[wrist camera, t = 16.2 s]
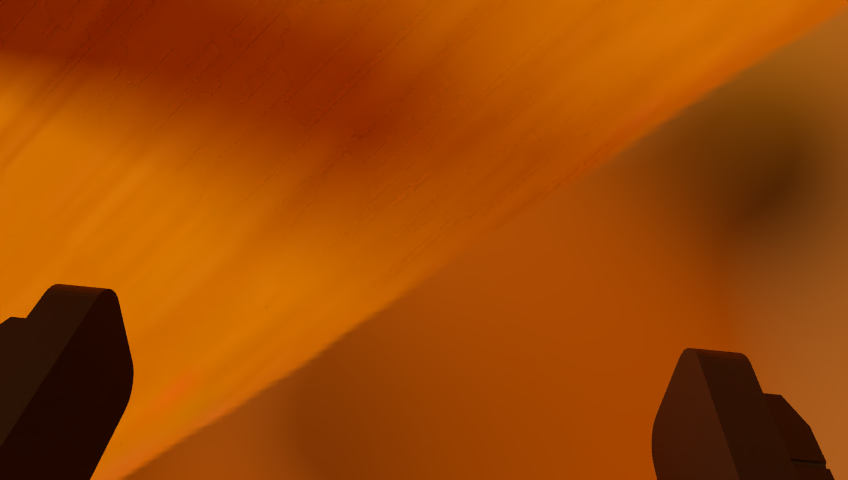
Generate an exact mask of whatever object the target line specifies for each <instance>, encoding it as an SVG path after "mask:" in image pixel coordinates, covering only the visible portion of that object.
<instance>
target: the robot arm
mask: <svg viewBox="0 0 848 480" xmlns="http://www.w3.org/2000/svg"><path fill="white" fill-rule="evenodd" d="M133 374H134V371H133V362H132V358H131V353H130V349H129V344H128V340H127V336H126V331H125V327H124V322H123V318H122V314H121V309H120V305H119V301H118V297H117V295H116V293H115V292H114V291H113V290H111V289H105V288H95V287H84V286H74V285H64V284H55V285H53V286H51V287H50V288H49V289H48V290H47V291H46V292H45V293H44V295H43V296H42V297H41V299H40V300H39V301H38V303H37V304H36V305H35V307H34V308H33V310H32V311H31V312H30V314H29V315H28V316H27V318H17V317H10V318H8V319H7V320H6V321H4V322H3V323H1V324H0V480H90V479H91V477H92V475H93V473H94V471H95V469H96V467H97V465H98V463H99V461H100V459H101V457H102V455H103V453H104V451H105V449H106V447H107V445H108V443H109V441H110V439H111V437H112V435H113V433H114V431H115V429H116V427H117V425H118V423H119V421H120V419H121V417H122V415H123V413H124V411H125V409H126V407H127V404H128V402H129V399H130V395H131V391H132V385H133ZM652 457H653V463H654V468H655V472H656V476H657V480H834V478H833V476H832V474H831V471H830V469H826V460H825V458H824V456H823V454H822V452H821V450H820V448H819V445H818V443H817V441H816V439H815V437H814V435H813V432H812V430H811V428H810V426H809V425H808V424H807V423H806V422H805V421H804V420H803V419H802V418H801V416H800V415H799V414H798V413H797V412H796V411H795V410H794V409H793V408H792V407H791V406H790V404H789V403H788V402H787V401H786V400H785V399H784V398H783V397H782V396H781V395H775V394H765V393H763V392H762V390H761V388H760V385H759V382H758V380H757V377H756V375H755V373H754V370H753V368H752V365H751V363H750V361H749V360H748V358H747V357H746V356H745V355H743V354H741V353H734V352H723V351H713V350H703V349H694V348H687V349H685V350H684V351H683V353H682V354H681V356H680V358H679V361H678V363H677V365H676V368H675V370H674V373H673V375H672V378H671V380H670V383H669V385H668V388H667V390H666V393H665V395H664V398H663V400H662V403H661V405H660V407H659V410H658V412H657V415H656V418H655V421H654V425H653V432H652Z"/></svg>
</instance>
